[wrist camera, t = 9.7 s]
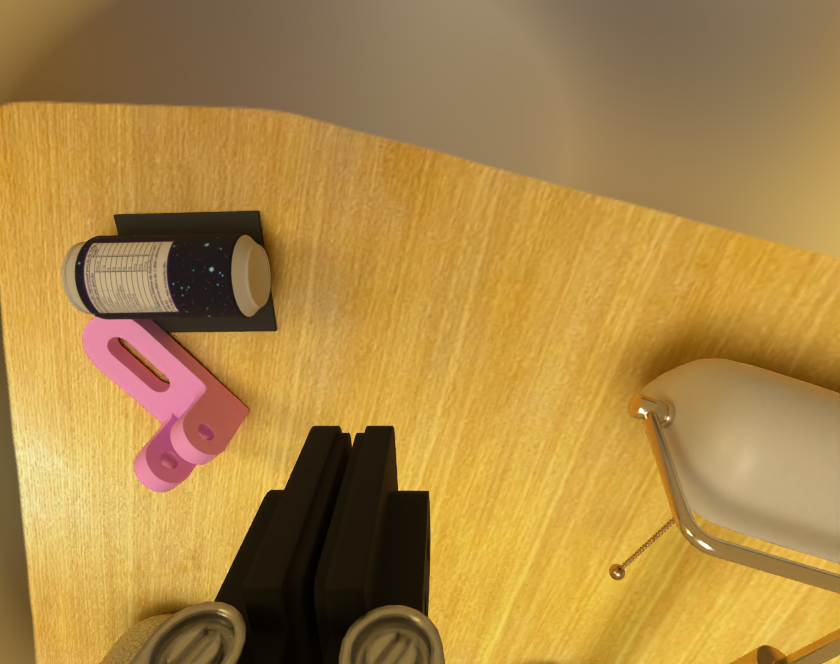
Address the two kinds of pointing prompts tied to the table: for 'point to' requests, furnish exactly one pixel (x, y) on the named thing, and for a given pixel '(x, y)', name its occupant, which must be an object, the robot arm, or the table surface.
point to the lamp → (749, 472)
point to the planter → (133, 640)
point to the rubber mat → (203, 225)
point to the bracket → (166, 398)
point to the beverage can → (167, 276)
